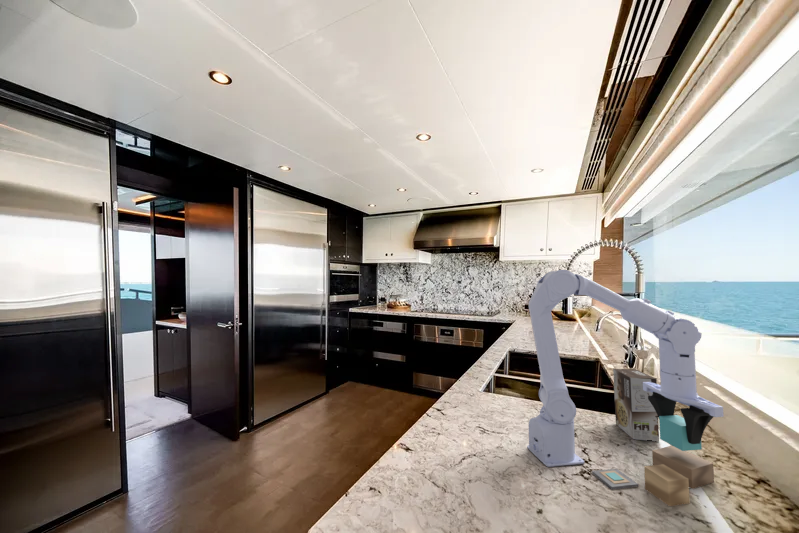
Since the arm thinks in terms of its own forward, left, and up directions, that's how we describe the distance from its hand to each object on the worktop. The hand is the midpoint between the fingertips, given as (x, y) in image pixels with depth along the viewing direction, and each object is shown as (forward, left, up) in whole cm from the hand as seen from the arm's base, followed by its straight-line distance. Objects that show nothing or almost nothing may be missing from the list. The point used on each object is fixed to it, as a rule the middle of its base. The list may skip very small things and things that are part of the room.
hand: (680, 436), depth 63 cm
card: (-16, +1, -8) cm, 18 cm away
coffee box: (+7, +17, -8) cm, 20 cm away
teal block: (0, 0, -2) cm, 2 cm away
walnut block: (0, 0, -8) cm, 8 cm away
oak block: (-10, -5, -8) cm, 14 cm away
